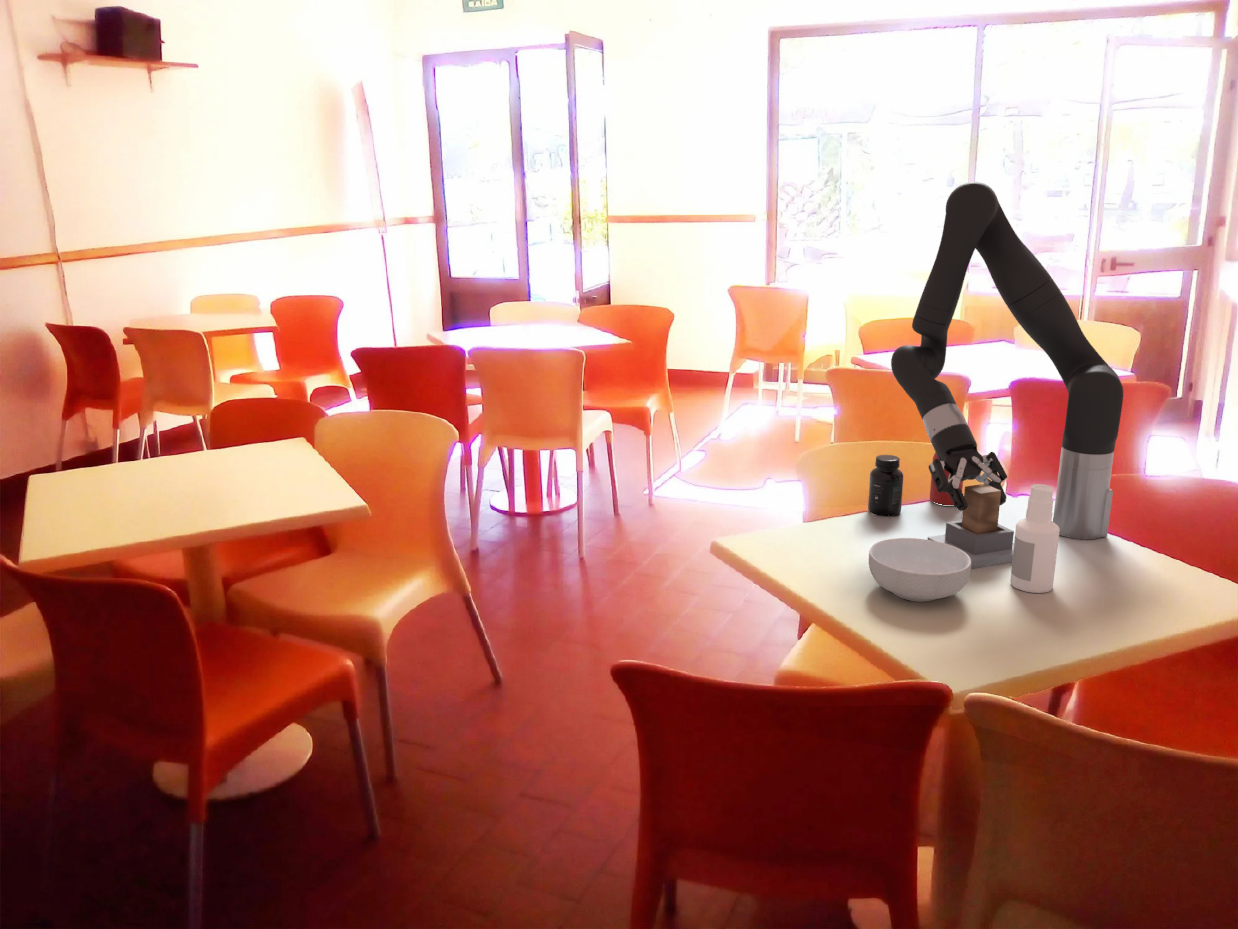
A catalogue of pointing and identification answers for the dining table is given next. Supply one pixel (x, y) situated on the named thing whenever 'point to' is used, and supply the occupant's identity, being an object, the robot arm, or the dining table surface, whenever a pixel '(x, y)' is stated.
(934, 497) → the beer can
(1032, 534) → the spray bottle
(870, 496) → the supplement bottle
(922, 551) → the cereal bowl
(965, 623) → the dining table surface
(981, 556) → the socket pad
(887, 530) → the dining table surface
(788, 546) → the dining table surface
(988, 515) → the walnut peg
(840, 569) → the dining table surface
